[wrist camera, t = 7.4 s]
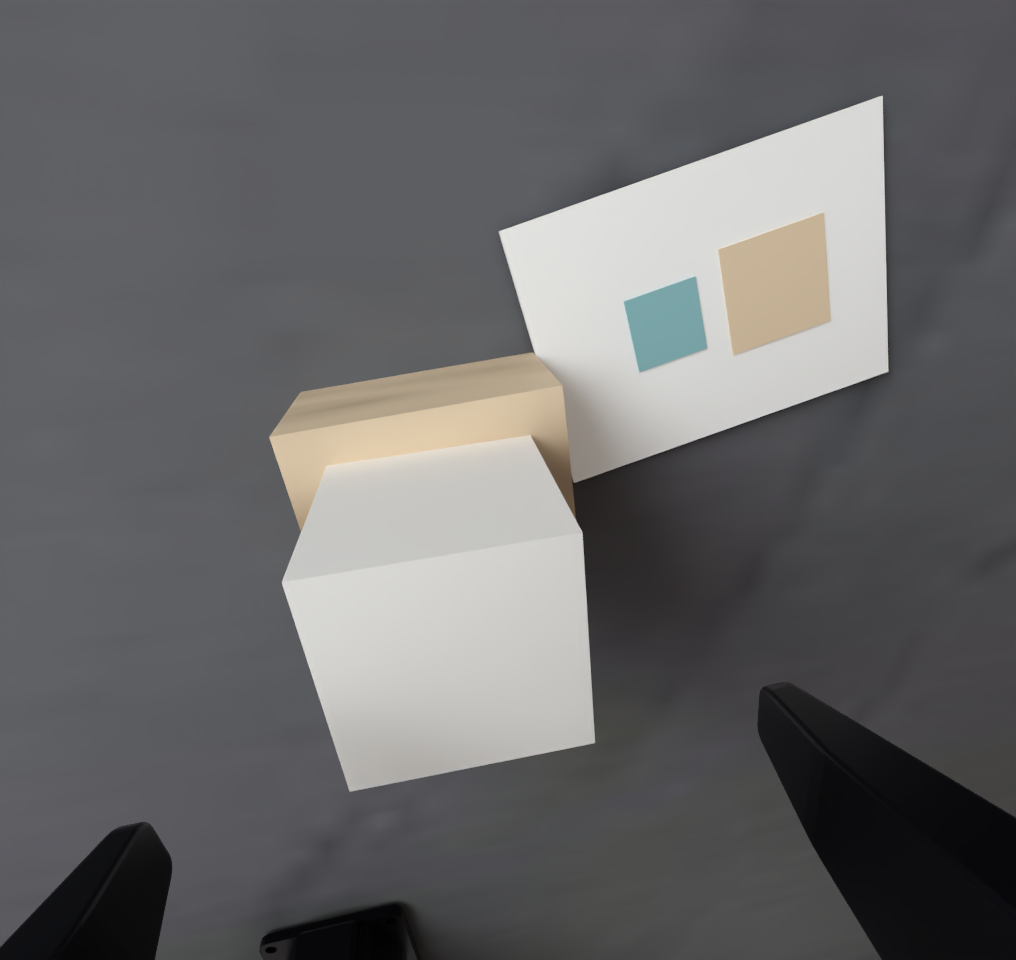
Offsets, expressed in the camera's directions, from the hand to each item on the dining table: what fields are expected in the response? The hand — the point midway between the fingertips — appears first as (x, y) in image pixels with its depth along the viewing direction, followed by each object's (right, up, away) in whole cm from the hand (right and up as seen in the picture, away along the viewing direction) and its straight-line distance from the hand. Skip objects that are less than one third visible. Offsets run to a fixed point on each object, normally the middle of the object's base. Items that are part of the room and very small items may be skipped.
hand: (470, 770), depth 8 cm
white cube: (-1, +3, +7) cm, 7 cm away
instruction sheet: (+7, +9, +9) cm, 15 cm away
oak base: (-2, +4, +10) cm, 11 cm away
